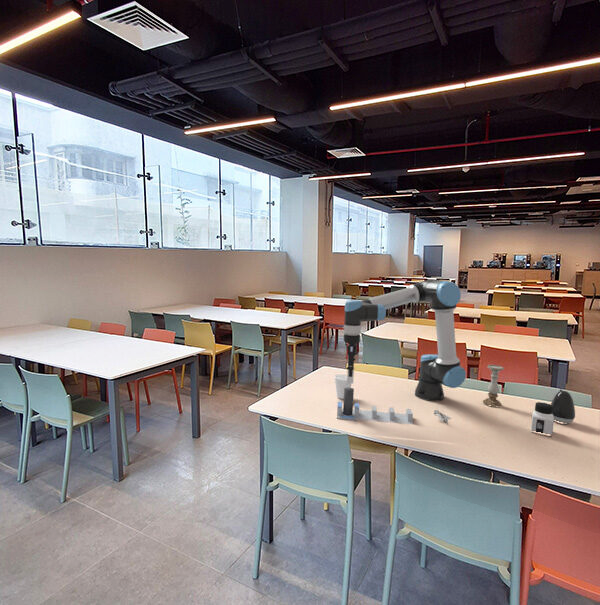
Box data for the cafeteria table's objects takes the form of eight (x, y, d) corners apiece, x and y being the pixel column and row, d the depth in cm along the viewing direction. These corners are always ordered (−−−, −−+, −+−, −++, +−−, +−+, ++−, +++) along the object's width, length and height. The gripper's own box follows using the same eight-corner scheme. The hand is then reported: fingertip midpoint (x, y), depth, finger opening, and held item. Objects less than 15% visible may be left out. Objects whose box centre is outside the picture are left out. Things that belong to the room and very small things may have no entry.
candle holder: (497, 408, 194) (501, 370, 192) (479, 403, 201) (483, 366, 198) (504, 404, 200) (507, 367, 198) (487, 399, 206) (490, 363, 204)
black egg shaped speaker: (569, 419, 183) (573, 389, 182) (577, 428, 174) (581, 396, 172) (545, 416, 187) (548, 386, 185) (551, 424, 177) (555, 392, 175)
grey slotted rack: (409, 415, 181) (410, 405, 181) (413, 425, 170) (413, 414, 170) (337, 409, 185) (338, 399, 185) (336, 418, 175) (337, 408, 174)
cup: (353, 401, 197) (354, 380, 196) (334, 400, 198) (335, 379, 196) (351, 394, 207) (352, 374, 206) (332, 393, 207) (333, 374, 206)
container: (551, 437, 163) (555, 408, 162) (530, 432, 167) (534, 404, 166) (551, 431, 170) (554, 403, 168) (531, 426, 174) (534, 399, 172)
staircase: (433, 422, 176) (434, 410, 175) (439, 420, 178) (440, 409, 177) (443, 427, 170) (444, 415, 170) (450, 426, 172) (451, 414, 171)
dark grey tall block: (352, 412, 181) (353, 387, 180) (352, 415, 177) (353, 390, 176) (343, 411, 182) (344, 387, 180) (342, 415, 177) (344, 390, 176)
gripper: (344, 328, 188) (342, 370, 190) (343, 338, 163) (341, 386, 166) (359, 329, 187) (357, 371, 189) (360, 339, 162) (358, 387, 165)
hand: (350, 378), depth 178 cm, fingers open, 13 cm apart
